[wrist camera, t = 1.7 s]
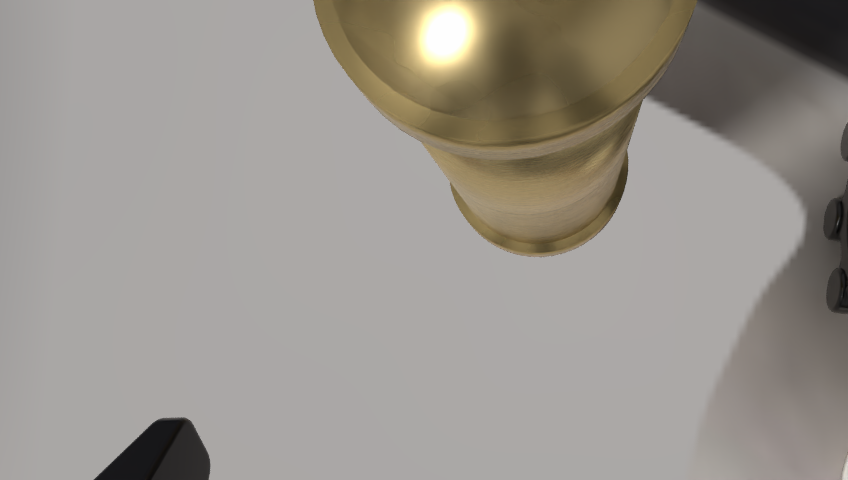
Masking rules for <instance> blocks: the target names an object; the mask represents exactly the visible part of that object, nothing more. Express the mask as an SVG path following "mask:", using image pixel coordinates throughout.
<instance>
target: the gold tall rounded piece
mask: <svg viewBox="0 0 848 480" xmlns="http://www.w3.org/2000/svg"><path fill="white" fill-rule="evenodd" d="M313 1H314V5H315V10H316V15H317V18H318V20H319V23H320V26H321V29H322V32H323V35H324V37H325V39H326V41H327V43H328V45H329V47H330V49H331V51H332V53H333V54H334V56H335V58H336V59H337V61H338V62H339V63H340V65H341V66H342V68H343V69H344V70H345V72H346V73H347V74H348V76H349V77H350V78H351V80H352V81H353V82H354V83H355V85H356V86H357V87H358V88H359V89H360V91H361V92H362V93H363V94H364V96H365V97H366V98H367V99H368V100H369V101H370V103H371V104H373V106H374V107H375V108H376V109H377V110H378V111H379V112H380V113H381V114H382V115H383V116H384V117H385V118H386V119H388V120H389V121H390V122H392V123H393V124H394V125H395V126H397V127H398V128H399V129H400V130H402V131H403V132H405V133H407V134H408V135H410V136H412V137H414V138H415V139H417V140H419V141H420V142H422V144H423V145H424V147H425V148H426V149H427V151H428V152H429V153H430V155H431V156H432V158H433V159H434V160H435V162H436V163H437V164H438V166H439V167H440V168H441V170H442V171H443V173H444V174H445V175H446V177H447V178H448V180H449V181H450V185H451V190H452V193H453V196H454V199H455V201H456V203H457V205H458V207H459V209H460V211H461V212H462V214H463V215H464V217H465V218H466V220H467V221H468V222H469V223H470V225H471V226H472V227H473V228H474V229H475V230H476V231H477V232H478V233H479V234H480V235H481V236H482V237H483V238H484V239H486V240H487V241H488V242H490V243H491V244H493V245H495V246H497V247H499V248H500V249H503V250H506V251H507V252H510V253H514V254H517V255H522V256H529V257H545V256H554V255H558V254H562V253H565V252H568V251H571V250H573V249H576V248H578V247H579V246H581V245H583V244H585V243H586V242H588V241H589V240H591V239H592V238H593V237H595V236H596V235H597V234H598V233H599V232H600V231H601V230H602V229H603V228H604V227H605V226H606V224H607V223H608V222H609V221H610V219H611V217H612V216H613V214H614V213H615V211H616V209H617V207H618V205H619V202H620V200H621V198H622V195H623V192H624V188H625V185H626V181H627V175H628V154H627V148H628V145H629V142H630V139H631V135H632V132H633V129H634V126H635V122H636V120H637V117H638V113H639V110H640V107H641V104H642V101H643V99H644V98H645V97H646V96H647V95H648V93H649V92H650V91H651V90H652V89H653V87H654V86H655V85H656V84H657V83H658V81H659V80H660V79H661V77H662V76H663V74H664V73H665V71H666V69H667V68H668V66H669V65H670V63H671V61H672V60H673V58H674V56H675V54H676V52H677V50H678V48H679V45H680V43H681V41H682V39H683V36H684V34H685V31H686V29H687V26H688V24H689V21H690V19H691V16H692V13H693V11H694V8H695V6H696V3H697V0H313Z"/></svg>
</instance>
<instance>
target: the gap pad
mask: <svg viewBox="0 0 848 480" xmlns="http://www.w3.org/2000/svg"><path fill="white" fill-rule="evenodd" d="M841 480H848V453H847V456H846V459H845V463H844V466H843V470H842V476H841Z"/></svg>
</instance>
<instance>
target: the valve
mask: <svg viewBox="0 0 848 480" xmlns="http://www.w3.org/2000/svg"><path fill="white" fill-rule="evenodd" d="M841 155H842V158H843V159H844V160H845V161H848V123H847V124H846V126H845V129H844V132H843V135H842V140H841ZM824 234H825V237H826V238H827V239H828V240H833V241H841V262H840V266H839V268H837V269H835V270H834V271H833V272H832V274H831V276H830V278H829V281H828V286H827V295H826V296H827V305H828V308H829V309H830V310H831V311H832V312H835V313H842V314H848V181H847V185H846V190H845V193H844V196H843V198H834V199H832V200H831V201H830V202H829V204H828V206H827V209H826V212H825V218H824Z"/></svg>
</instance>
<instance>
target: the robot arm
mask: <svg viewBox="0 0 848 480" xmlns="http://www.w3.org/2000/svg"><path fill="white" fill-rule="evenodd" d="M209 474H210V459H209V455H208V453H207V451H206V448H205V447H204V445H203V443H202V441H201V439H200V437H199V435H198V433H197V431H196V429H195V428H194V425H193V424H192V422H191V421H190V420H188V419H187V418H162V419H159V420H157V421H155V422H154V423H152V424H151V425H150V426H149V427H148V428H147V429H146V430H145V431H144V432H143V433H142V434H141V435H140V436H139V437H138V438H137V439H136V440H135V441H134V442H132V444H131V445H130V446H128V447H127V448H126V449H125V450H124V451H123V452H122V453H121V454H120V455H119V456H118V457H117V458H116V459H115V460H114V461H113V462H112V463H111V464H110V465H109V466H108V467H106V468H105V469H104V470H103V471H102V472H101V473H100V474H99V475H98V476H97V477H96V478H95V479H94V480H209Z"/></svg>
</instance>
